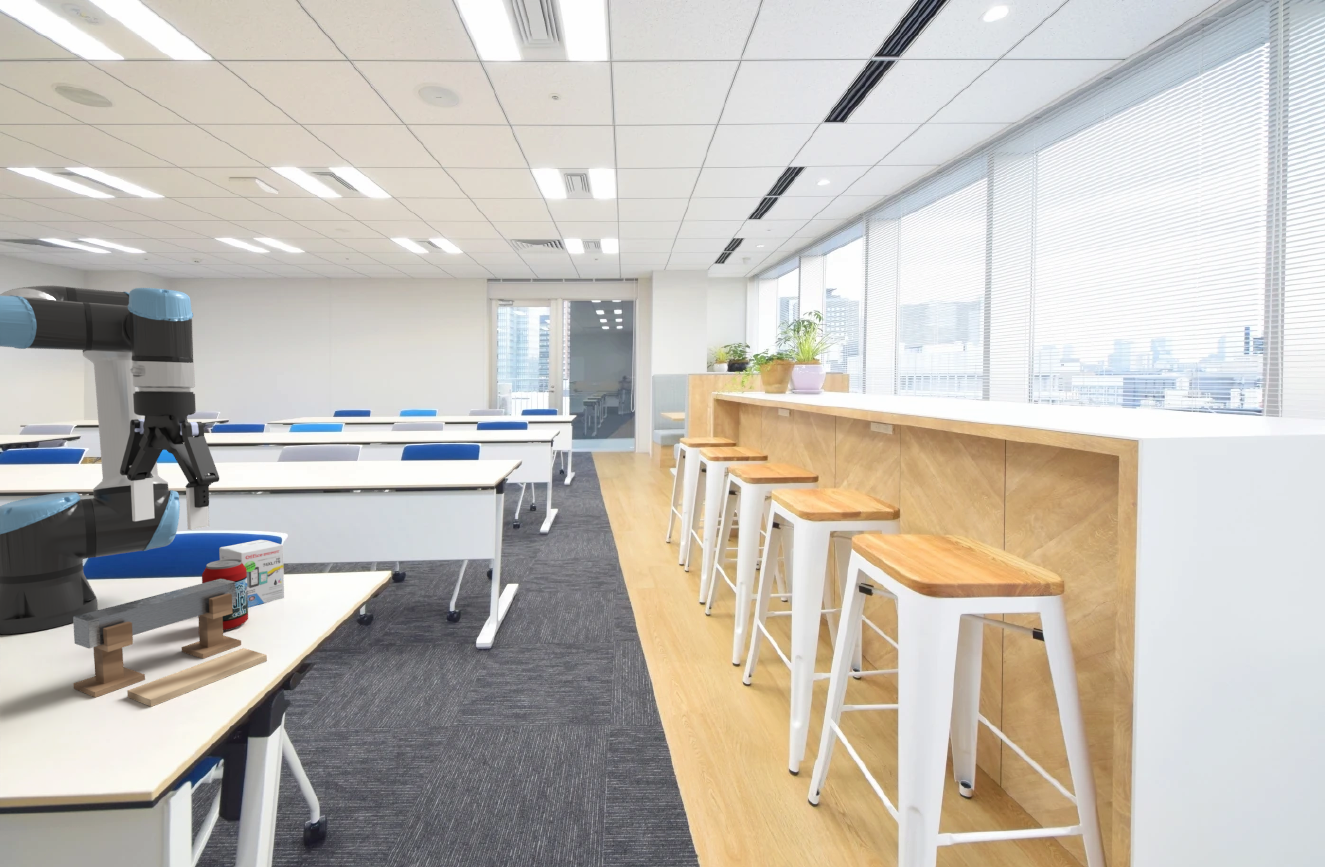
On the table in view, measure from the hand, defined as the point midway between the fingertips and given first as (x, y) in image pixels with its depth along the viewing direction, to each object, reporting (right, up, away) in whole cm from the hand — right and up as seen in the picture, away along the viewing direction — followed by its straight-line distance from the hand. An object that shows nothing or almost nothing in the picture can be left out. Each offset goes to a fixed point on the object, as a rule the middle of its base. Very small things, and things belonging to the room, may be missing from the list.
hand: (170, 523), depth 97 cm
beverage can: (-3, -22, +16) cm, 27 cm away
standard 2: (+2, -22, +7) cm, 23 cm away
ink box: (-7, -21, +31) cm, 38 cm away
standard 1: (-4, -23, -6) cm, 24 cm away
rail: (-1, -16, 0) cm, 16 cm away
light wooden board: (+8, -23, -4) cm, 25 cm away
